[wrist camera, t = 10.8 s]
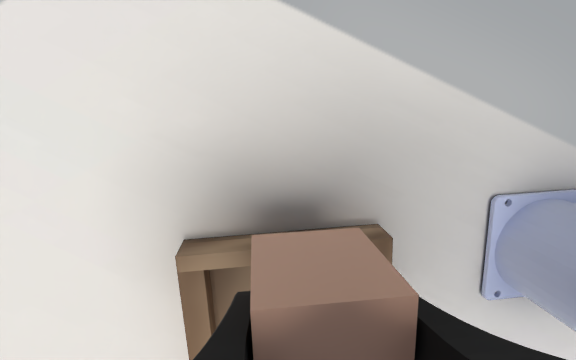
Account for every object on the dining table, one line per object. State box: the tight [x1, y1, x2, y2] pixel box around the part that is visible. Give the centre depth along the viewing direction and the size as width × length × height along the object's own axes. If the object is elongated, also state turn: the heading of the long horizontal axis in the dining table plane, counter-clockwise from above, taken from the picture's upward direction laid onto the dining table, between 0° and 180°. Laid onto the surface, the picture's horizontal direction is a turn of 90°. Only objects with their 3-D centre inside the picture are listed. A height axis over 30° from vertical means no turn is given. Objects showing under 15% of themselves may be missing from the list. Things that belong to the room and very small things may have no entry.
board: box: [175, 224, 393, 360], centre depth 22 cm, size 13×18×2 cm
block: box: [250, 228, 419, 360], centre depth 11 cm, size 4×4×5 cm
